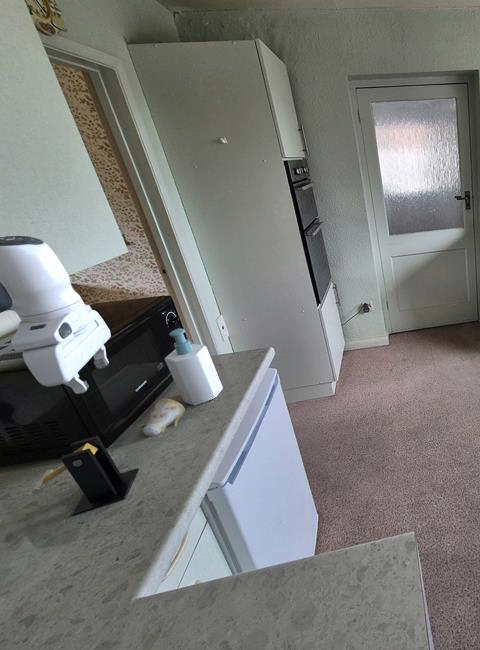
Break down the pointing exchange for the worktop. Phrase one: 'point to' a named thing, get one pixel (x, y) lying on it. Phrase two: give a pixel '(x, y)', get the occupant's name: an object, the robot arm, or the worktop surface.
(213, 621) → the worktop surface
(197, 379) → the soap bottle
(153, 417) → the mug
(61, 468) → the tap lever
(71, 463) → the bracket
